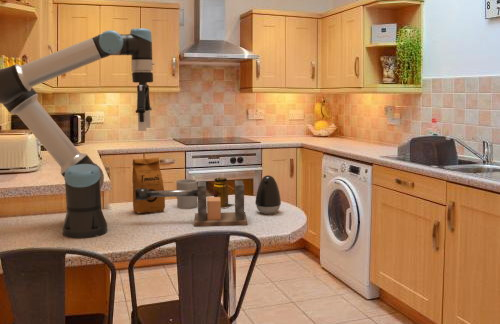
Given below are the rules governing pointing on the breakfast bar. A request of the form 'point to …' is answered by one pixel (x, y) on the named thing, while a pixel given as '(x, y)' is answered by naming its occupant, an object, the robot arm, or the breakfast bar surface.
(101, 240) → the breakfast bar surface
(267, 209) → the black egg shaped speaker
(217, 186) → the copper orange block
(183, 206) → the mug
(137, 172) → the coffee package
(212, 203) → the block
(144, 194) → the shaft
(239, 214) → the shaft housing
